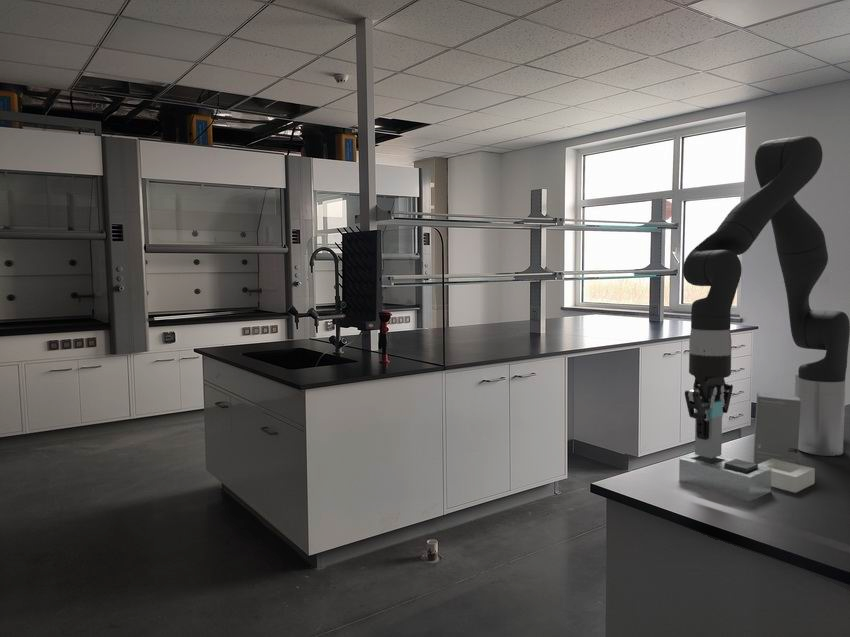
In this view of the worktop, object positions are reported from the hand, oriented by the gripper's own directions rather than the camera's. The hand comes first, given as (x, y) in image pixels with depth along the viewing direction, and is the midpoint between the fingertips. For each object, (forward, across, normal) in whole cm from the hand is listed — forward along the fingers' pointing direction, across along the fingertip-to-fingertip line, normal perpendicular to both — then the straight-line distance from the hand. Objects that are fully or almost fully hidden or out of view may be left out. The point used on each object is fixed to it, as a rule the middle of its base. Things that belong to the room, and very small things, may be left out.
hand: (708, 436), depth 119 cm
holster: (+10, +11, -9) cm, 18 cm away
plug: (+4, 0, 0) cm, 4 cm away
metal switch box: (+10, 0, -3) cm, 11 cm away
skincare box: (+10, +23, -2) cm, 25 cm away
